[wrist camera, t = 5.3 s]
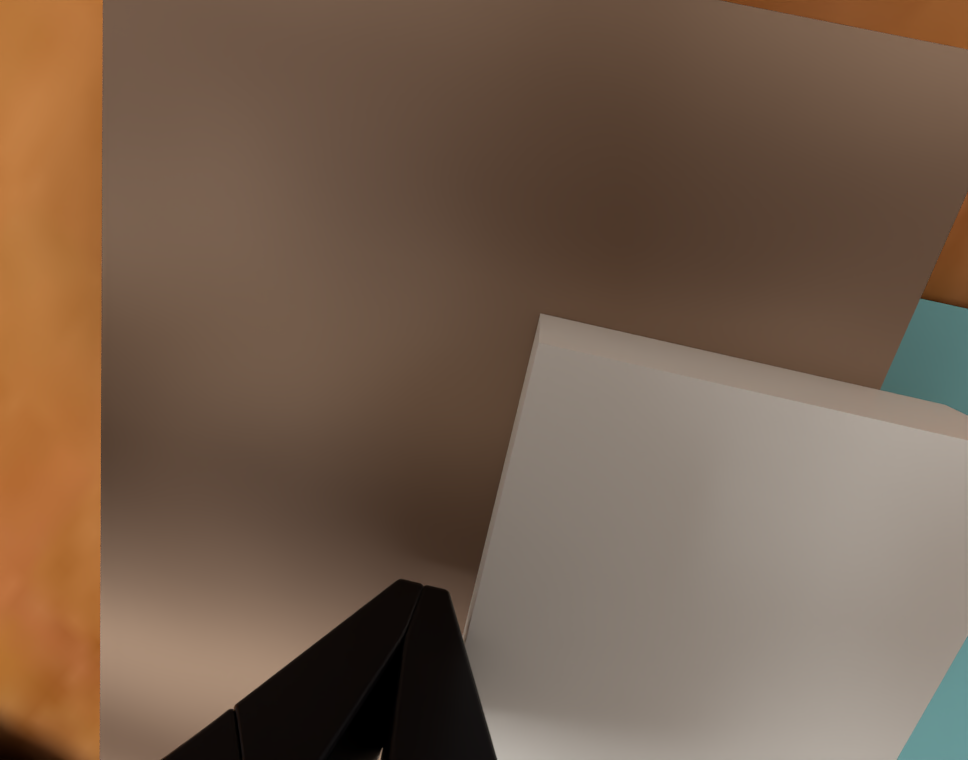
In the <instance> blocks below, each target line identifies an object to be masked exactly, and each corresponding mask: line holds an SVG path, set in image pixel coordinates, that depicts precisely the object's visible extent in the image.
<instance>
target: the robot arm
mask: <svg viewBox="0 0 968 760" xmlns="http://www.w3.org/2000/svg"><path fill="white" fill-rule="evenodd" d="M382 748H383V749H382ZM381 751H382V754H381V759H380V760H497V757H496V753H495V750H494V746H493V742H492V739H491V735H490V732H489V728H488V725H487V721H486V718H485V714H484V711H483V707H482V704H481V700H480V697H479V693H478V690H477V686H476V683H475V679H474V676H473V672H472V669H471V665H470V662H469V658H468V655H467V651H466V648H465V644H464V641H463V637H462V634H461V630H460V627H459V623H458V620H457V616H456V613H455V609H454V606H453V602H452V599H451V595H450V593H449V591H448V590H446V589H442V588H438V587H434V586H430V585H425V586H423V585H422V584H421V583H417V582H413V581H409V580H405V579H399V580H396V581H395V582H394V583H393V584H391V585H390V586H389V587H387V588H386V589H385V590H383V591H382V592H381V593H380V594H378V595H377V596H376V597H374V598H373V599H372V600H370V601H369V602H368V603H367V604H365V605H364V606H363V607H361V608H360V609H359V610H357V611H356V612H355V613H354V614H352V615H351V616H350V617H348V618H347V619H346V620H344V621H343V622H342V623H341V624H339V625H338V626H337V627H335V628H334V629H333V630H331V631H330V632H329V633H328V634H326V635H325V636H324V637H322V638H321V639H320V640H318V641H317V642H316V643H315V644H313V645H312V646H311V647H309V648H308V649H307V650H306V651H304V652H303V653H302V654H300V655H299V656H298V657H296V658H295V659H294V660H293V661H291V662H290V663H289V664H287V665H286V666H285V667H283V668H282V669H281V670H280V671H278V672H277V673H276V674H274V675H273V676H272V677H270V678H269V679H268V680H267V681H265V682H264V683H263V684H261V685H260V686H259V687H257V688H256V689H255V690H254V691H252V692H251V693H250V694H248V695H247V696H246V697H244V698H243V699H242V700H241V701H239V702H238V703H237V704H235V706H234V709H228V710H227V711H226V712H224V713H223V714H222V715H221V716H219V717H218V718H217V719H215V720H214V721H213V722H212V723H210V724H209V725H208V726H206V727H205V728H204V729H202V730H201V731H200V732H198V733H197V734H195V735H194V736H193V737H191V738H190V739H189V740H187V741H186V742H184V743H183V744H182V745H180V746H179V747H178V748H176V749H175V750H173V751H172V752H171V753H169V754H168V755H167V756H165V757H164V758H162V759H161V760H378V759H379V756H380V753H381Z"/></svg>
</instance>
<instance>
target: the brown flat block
mask: <svg viewBox="0 0 968 760" xmlns="http://www.w3.org/2000/svg"><path fill="white" fill-rule="evenodd" d="M967 192H968V50H967V49H962V48H957V47H952V46H947V45H942V44H937V43H932V42H927V41H922V40H917V39H912V38H907V37H902V36H897V35H892V34H887V33H882V32H877V31H872V30H867V29H862V28H857V27H852V26H847V25H842V24H837V23H832V22H827V21H822V20H816V19H811V18H806V17H801V16H796V15H791V14H786V13H781V12H776V11H771V10H766V9H761V8H756V7H751V6H746V5H741V4H736V3H731V2H726V1H721V0H103V111H102V353H101V596H100V760H161V759H162V758H164V757H165V756H167V755H168V754H169V753H171V752H172V751H173V750H175V749H176V748H178V747H179V746H180V745H182V744H183V743H184V742H186V741H187V740H189V739H190V738H191V737H193V736H194V735H195V734H197V733H198V732H200V731H201V730H202V729H204V728H205V727H206V726H208V725H209V724H210V723H212V722H213V721H214V720H215V719H217V718H218V717H219V716H221V715H222V714H223V713H224V712H226V711H227V710H228V709H234V706H235V704H237V703H238V702H239V701H241V700H242V699H243V698H244V697H246V696H247V695H248V694H250V693H251V692H252V691H254V690H255V689H256V688H257V687H259V686H260V685H261V684H263V683H264V682H265V681H267V680H268V679H269V678H270V677H272V676H273V675H274V674H276V673H277V672H278V671H280V670H281V669H282V668H283V667H285V666H286V665H287V664H289V663H290V662H291V661H293V660H294V659H295V658H296V657H298V656H299V655H300V654H302V653H303V652H304V651H306V650H307V649H308V648H309V647H311V646H312V645H313V644H315V643H316V642H317V641H318V640H320V639H321V638H322V637H324V636H325V635H326V634H328V633H329V632H330V631H331V630H333V629H334V628H335V627H337V626H338V625H339V624H341V623H342V622H343V621H344V620H346V619H347V618H348V617H350V616H351V615H352V614H354V613H355V612H356V611H357V610H359V609H360V608H361V607H363V606H364V605H365V604H367V603H368V602H369V601H370V600H372V599H373V598H374V597H376V596H377V595H378V594H380V593H381V592H382V591H383V590H385V589H386V588H387V587H389V586H390V585H391V584H393V583H394V582H395V581H396V580H399V579H405V580H409V581H413V582H417V583H421V584H422V585H423V586H425V585H430V586H434V587H438V588H442V589H446V590H448V591H449V593H450V595H451V599H452V602H453V606H454V609H455V613H456V616H457V620H458V623H459V627H460V630H461V634H462V636H463V632H464V628H465V624H466V620H467V616H468V611H469V607H470V603H471V599H472V595H473V591H474V587H475V582H476V578H477V574H478V570H479V566H480V562H481V558H482V553H483V549H484V545H485V541H486V537H487V533H488V529H489V524H490V520H491V516H492V512H493V508H494V504H495V500H496V495H497V491H498V487H499V483H500V479H501V475H502V471H503V466H504V462H505V458H506V454H507V450H508V446H509V442H510V437H511V433H512V429H513V425H514V421H515V417H516V413H517V408H518V404H519V400H520V396H521V392H522V388H523V384H524V379H525V375H526V371H527V367H528V363H529V359H530V355H531V350H532V346H533V342H534V338H535V334H536V330H537V326H538V321H539V317H540V313H541V314H545V315H550V316H554V317H559V318H563V319H567V320H572V321H576V322H581V323H585V324H590V325H594V326H598V327H603V328H607V329H612V330H616V331H621V332H625V333H629V334H634V335H638V336H643V337H647V338H652V339H656V340H660V341H665V342H669V343H674V344H678V345H683V346H687V347H691V348H696V349H700V350H705V351H709V352H714V353H718V354H722V355H727V356H731V357H736V358H740V359H744V360H749V361H753V362H758V363H762V364H767V365H771V366H775V367H780V368H784V369H789V370H793V371H798V372H802V373H806V374H811V375H815V376H820V377H824V378H829V379H833V380H837V381H842V382H846V383H851V384H855V385H860V386H864V387H868V388H873V389H877V390H880V389H881V386H882V384H883V382H884V379H885V377H886V375H887V373H888V370H889V368H890V366H891V364H892V361H893V359H894V357H895V355H896V352H897V350H898V348H899V346H900V343H901V341H902V339H903V337H904V334H905V332H906V330H907V328H908V325H909V323H910V321H911V318H912V316H913V314H914V312H915V309H916V307H917V305H918V303H919V300H920V298H921V296H922V294H923V291H924V289H925V287H926V285H927V282H928V280H929V278H930V276H931V273H932V271H933V269H934V266H935V264H936V262H937V260H938V257H939V255H940V253H941V251H942V248H943V246H944V244H945V242H946V239H947V237H948V235H949V233H950V230H951V228H952V226H953V224H954V221H955V219H956V217H957V215H958V212H959V210H960V208H961V205H962V203H963V201H964V199H965V196H966V194H967ZM382 749H383V748H382ZM381 754H382V751H381V753H380V756H379V759H378V760H380V759H381Z"/></svg>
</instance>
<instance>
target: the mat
mask: <svg viewBox="0 0 968 760" xmlns="http://www.w3.org/2000/svg"><path fill="white" fill-rule="evenodd" d="M880 390H882V391H886V392H891V393H895V394H899V395H904V396H908V397H913V398H917V399H922V400H926V401H930V402H935V403H939V404H944V405H947V406H949V407H951V408H953V409H955V410H957V411H959V412H961V413H963V414H965V415H968V309H966V308H962V307H957V306H953V305H948V304H944V303H939V302H934V301H930V300H925V299H921V298H920V300H919V303H918V305H917V307H916V309H915V312H914V314H913V316H912V318H911V321H910V323H909V325H908V328H907V330H906V332H905V334H904V337H903V339H902V341H901V343H900V346H899V348H898V350H897V352H896V355H895V357H894V359H893V361H892V364H891V366H890V368H889V370H888V373H887V375H886V377H885V379H884V382H883V384H882V386H881V389H880ZM897 760H968V636H967V638H966V639H965V641H964V643H963V645H962V646H961V648H960V650H959V652H958V653H957V655H956V657H955V659H954V660H953V662H952V664H951V666H950V667H949V669H948V671H947V673H946V674H945V676H944V678H943V680H942V681H941V683H940V685H939V687H938V688H937V690H936V692H935V693H934V695H933V697H932V699H931V700H930V702H929V704H928V706H927V707H926V709H925V711H924V713H923V714H922V716H921V718H920V720H919V721H918V723H917V725H916V727H915V728H914V730H913V732H912V734H911V735H910V737H909V739H908V741H907V742H906V744H905V746H904V748H903V749H902V751H901V753H900V755H899V756H898V758H897Z"/></svg>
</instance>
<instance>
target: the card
mask: <svg viewBox="0 0 968 760" xmlns="http://www.w3.org/2000/svg"><path fill="white" fill-rule="evenodd" d="M967 636H968V415H965V414H963V413H961V412H959V411H957V410H955V409H953V408H951V407H949V406H947V405H944V404H939V403H935V402H930V401H926V400H922V399H917V398H913V397H908V396H904V395H899V394H895V393H891V392H886V391H882V390H877V389H873V388H868V387H864V386H860V385H855V384H851V383H846V382H842V381H837V380H833V379H829V378H824V377H820V376H815V375H811V374H806V373H802V372H798V371H793V370H789V369H784V368H780V367H775V366H771V365H767V364H762V363H758V362H753V361H749V360H744V359H740V358H736V357H731V356H727V355H722V354H718V353H714V352H709V351H705V350H700V349H696V348H691V347H687V346H683V345H678V344H674V343H669V342H665V341H660V340H656V339H652V338H647V337H643V336H638V335H634V334H629V333H625V332H621V331H616V330H612V329H607V328H603V327H598V326H594V325H590V324H585V323H581V322H576V321H572V320H567V319H563V318H559V317H554V316H550V315H545V314H541V313H540V317H539V321H538V326H537V330H536V334H535V338H534V342H533V346H532V350H531V355H530V359H529V363H528V367H527V371H526V375H525V379H524V384H523V388H522V392H521V396H520V400H519V404H518V408H517V413H516V417H515V421H514V425H513V429H512V433H511V437H510V442H509V446H508V450H507V454H506V458H505V462H504V466H503V471H502V475H501V479H500V483H499V487H498V491H497V495H496V500H495V504H494V508H493V512H492V516H491V520H490V524H489V529H488V533H487V537H486V541H485V545H484V549H483V553H482V558H481V562H480V566H479V570H478V574H477V578H476V582H475V587H474V591H473V595H472V599H471V603H470V607H469V611H468V616H467V620H466V624H465V628H464V632H463V636H462V637H463V641H464V644H465V648H466V651H467V655H468V658H469V662H470V665H471V669H472V672H473V676H474V679H475V683H476V686H477V690H478V693H479V697H480V700H481V704H482V707H483V711H484V714H485V718H486V721H487V725H488V728H489V732H490V735H491V739H492V742H493V746H494V750H495V753H496V757H497V760H897V758H898V756H899V755H900V753H901V751H902V749H903V748H904V746H905V744H906V742H907V741H908V739H909V737H910V735H911V734H912V732H913V730H914V728H915V727H916V725H917V723H918V721H919V720H920V718H921V716H922V714H923V713H924V711H925V709H926V707H927V706H928V704H929V702H930V700H931V699H932V697H933V695H934V693H935V692H936V690H937V688H938V687H939V685H940V683H941V681H942V680H943V678H944V676H945V674H946V673H947V671H948V669H949V667H950V666H951V664H952V662H953V660H954V659H955V657H956V655H957V653H958V652H959V650H960V648H961V646H962V645H963V643H964V641H965V639H966V638H967Z"/></svg>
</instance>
